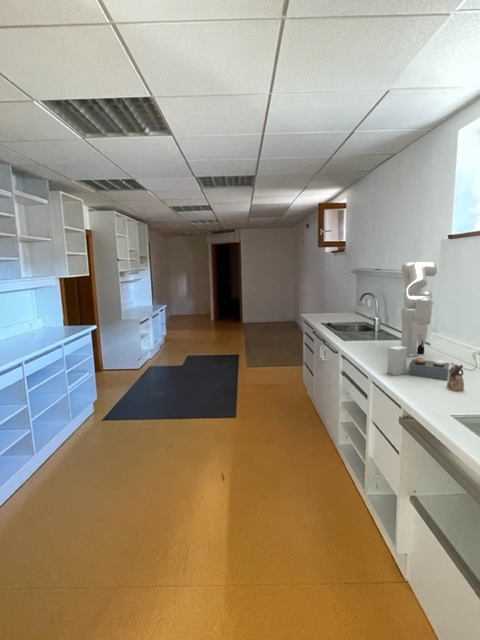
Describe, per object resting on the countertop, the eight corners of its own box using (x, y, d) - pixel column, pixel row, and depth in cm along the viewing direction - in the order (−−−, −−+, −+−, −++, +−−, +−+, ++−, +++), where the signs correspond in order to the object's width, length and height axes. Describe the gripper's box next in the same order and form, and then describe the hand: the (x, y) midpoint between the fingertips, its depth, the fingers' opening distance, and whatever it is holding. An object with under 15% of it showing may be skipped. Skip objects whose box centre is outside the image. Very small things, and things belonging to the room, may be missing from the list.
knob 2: (433, 372, 196) (434, 359, 194) (444, 374, 193) (445, 360, 192) (432, 375, 192) (433, 361, 190) (443, 376, 189) (444, 362, 188)
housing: (412, 369, 205) (412, 358, 204) (448, 373, 195) (449, 363, 194) (408, 374, 195) (409, 364, 194) (447, 380, 185) (447, 368, 184)
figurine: (446, 385, 178) (448, 361, 176) (463, 387, 174) (465, 363, 172) (446, 389, 172) (447, 365, 170) (463, 392, 168) (465, 367, 166)
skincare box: (397, 370, 202) (398, 345, 200) (406, 373, 197) (407, 347, 195) (386, 373, 199) (387, 346, 196) (395, 376, 193) (396, 349, 191)
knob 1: (415, 370, 201) (416, 357, 199) (425, 371, 198) (426, 358, 197) (413, 372, 196) (414, 359, 195) (424, 374, 194) (425, 360, 193)
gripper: (416, 318, 201) (414, 349, 204) (412, 322, 189) (410, 356, 192) (432, 319, 197) (429, 351, 200) (428, 324, 185) (426, 358, 188)
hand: (420, 353), depth 196 cm, fingers closed
